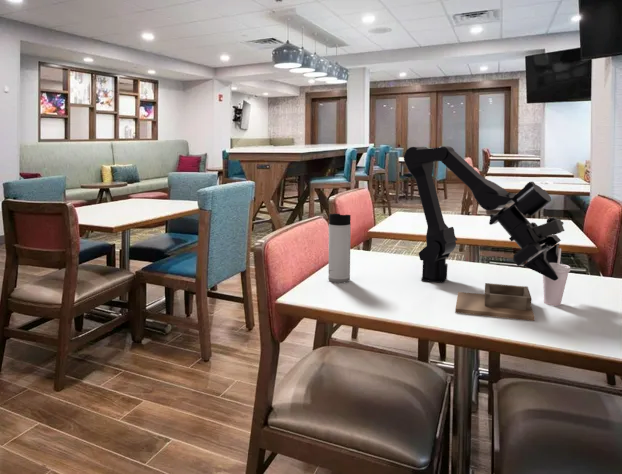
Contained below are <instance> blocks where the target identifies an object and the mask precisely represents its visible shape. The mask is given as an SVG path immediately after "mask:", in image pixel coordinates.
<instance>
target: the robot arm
mask: <svg viewBox="0 0 622 474" xmlns="http://www.w3.org/2000/svg"><path fill="white" fill-rule="evenodd" d="M403 162H404V164H405V166H406V168H407V170H408V172H409V173H410V175H412V177H413V178H414V180H415V182H416V187H417V190H418V195H419V198H420V202H421V206H422V210H423V214H424V218H425V220H426V221H425V222H426V225H427V228H426V229H427V230H426V235H425V241H426V246H424V247H423V248H422V249H421V250H420V251H418V255H419V260H420V261H422V271H421V272H422V273H421V278H420V281H423V282H431V283H432V282H434V283H445V281H446V280H447V279H448V268H449V267H448V263H446V262H447V258H449V257H450V255H451V253H453V252H454V250H455V249H456V247H457V243H456V241H458V239H457V237H456V234H455V229H454V227H453V226H450V227H449V226H448V225H447V224H446V222H445V220H444V217H443V212H442V209H441V204H440V201H439V198H438V193H437V190H436V187H435V183H434V182H435V181H434V179H433V172H434V171H433V170H434V162H441V163H442V164H443V165H444V166H445V167H447V168H448V170H450V171H451V172H452V173H453V175H455V176H456V177H457V178H458V179H459V180H460V181H462V183H463V184H464V185H466V187H468V189H469V190H470V191H471V194H472V196H473V198H474V199H475V201H476V202H477V203H478V204H479V206H480V207H481V208H482V209H483V210H485V211H494V210H498V209H500V210H499V211H498V212H496V213H490V215H489V222H488V224H489V225H490V226H491V225H495V224H497V223H499V225H500V226H501V227H502V228H503V229H504V231H505V232H507V234H508V235H509V238H508V239H509V240H510V242H515V243H516V244H517V246H518V247H519V248H520V250H519V251H516V252H515V254H513V256H512V257H513V258H512V261H513V262H514V263H515V264H516V265H517V267H519V266H522V265H523V267H524V268H527V269H530V270H532V271H534V272H536V273H539V274H541V275H542V276H543V275H544V276H546V277H548V278H550V279H552V280H554V281H555V280H557V279H558V276H557V275H556V273H555V271H554V270H553V268H552V267H551V265H550V264H549V263H557V261H558V251H559V247H560V242H561V241H562V239H560V237H559V236H558V235H557V234H561V233H562V232H565V229H564V221H562V220H561V218H557V217H556V216H552V217H550V218H547V219H546V222H545V223H543V224H540V225H538V224H537V223H536V222H530V221H529V220H528V219H527V218H526V217H527V215H529V216H534V215H536V213H538V212H539V211H541V210H542V209H543V208H544V207H546V206H547V205H548V204H549V203H550V202H552V197H551V195H549V193H548V191H546V190H545V189H543V188H542V187H541V186H540V185H537V184H536V183H535V182H534V181H529V182H527V183H526V184H525V185H524V187H523V188H522V189H521V190H519V191H518V192H517V193H511V192H508V191H507V190H506V189H505V188H504V187H502V186H501V185H499V184H497V183H495V182H493V181H491V180H490V179H487V178H485V177H484V176H482V175H481V173H480V172H478V171H477V170H476V168H474V167H473V166H471V165H470V163H468V162H467V161H466V160H465V159H464V158H463V157H462V156H461V155H460V154H458V152H456V150H455V149H454V148H453V147H452V146H448V145H446V146H439V147H432V148H431V147H430V148H428V147H426V146H410V147H408V148H407V149H406V151H405V152H404V154H403ZM506 205H509V207H506ZM562 261H563V260H562V259H561V258H560V264H564V263H563V262H562ZM524 263H525V264H524Z"/></svg>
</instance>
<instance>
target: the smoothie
mask: <svg viewBox="0 0 622 474" xmlns="http://www.w3.org/2000/svg"><path fill="white" fill-rule="evenodd" d="M561 256H562V248H561V247H560V248H559V247H558V261H557V263H549V264H550V265H551V267H552V268H553V270H554V271H555V273H556V275H557V276H558V279H557V280H555V281H554V280H552V279H550V278H548V277H546V276H544V275H542V284H543V302H544V304H546V305H548V306H554V307H555V306H556V307H558V306H561V304H562V301H563V296H564V293H565V288H566V284H567V280H568V275H569V273H570V272H571V266H569V265H567V264H564V263H563V264H560V259H561Z"/></svg>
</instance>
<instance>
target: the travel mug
mask: <svg viewBox="0 0 622 474" xmlns="http://www.w3.org/2000/svg"><path fill="white" fill-rule="evenodd" d="M351 216H352V214H340V213H335V212H334V213H329V214H328V281H329V282H330V283H334V282H336V283H335V284H345V283H348V282H349V281H350V279H351V225H352V224H351V220H352V219H351ZM344 282H345V283H344Z"/></svg>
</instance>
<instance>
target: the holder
mask: <svg viewBox="0 0 622 474" xmlns="http://www.w3.org/2000/svg"><path fill="white" fill-rule="evenodd" d="M454 313H457V314H464V315H475V316H484V317H492V318H503V319H514V320H523V321H530V322H531V321H532V322H533V321H535V319H536V318H535V314H534V313H535V312H534V311H533V307H532V295H531V293H530V289H529V287H528V286H527V285H526V286H525V285H512V284H500V283H491V282H490V283H488V282H487V283H485V285H484V293H473V292H464V291H463V292H462V291H458V292H457V297H456V304H455V310H454Z"/></svg>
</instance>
